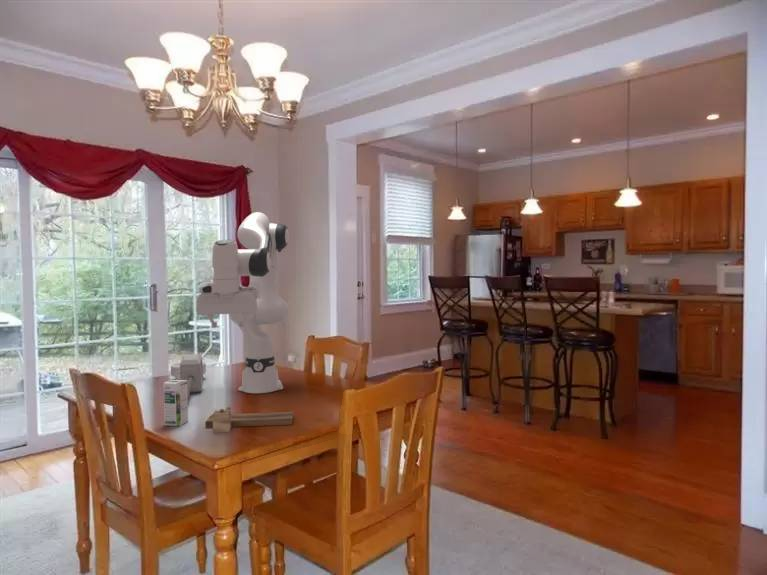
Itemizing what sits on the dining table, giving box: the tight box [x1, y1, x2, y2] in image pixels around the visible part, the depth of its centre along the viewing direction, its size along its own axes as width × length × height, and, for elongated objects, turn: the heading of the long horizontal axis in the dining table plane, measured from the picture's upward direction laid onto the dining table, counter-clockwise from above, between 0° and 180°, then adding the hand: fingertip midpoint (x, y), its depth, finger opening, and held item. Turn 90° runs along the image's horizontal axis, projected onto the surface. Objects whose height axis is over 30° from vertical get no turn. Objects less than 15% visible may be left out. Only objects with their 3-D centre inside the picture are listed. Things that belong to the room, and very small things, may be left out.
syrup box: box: [162, 379, 189, 427], centre depth 176 cm, size 6×6×14 cm
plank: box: [205, 411, 295, 429], centre depth 176 cm, size 8×28×2 cm, turn 95°
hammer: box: [179, 353, 204, 401], centre depth 208 cm, size 15×8×30 cm
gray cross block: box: [170, 361, 207, 380], centre depth 241 cm, size 15×15×8 cm
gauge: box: [212, 406, 232, 433], centre depth 173 cm, size 12×5×7 cm, turn 5°
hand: (228, 326), depth 180 cm, fingers open, 8 cm apart
